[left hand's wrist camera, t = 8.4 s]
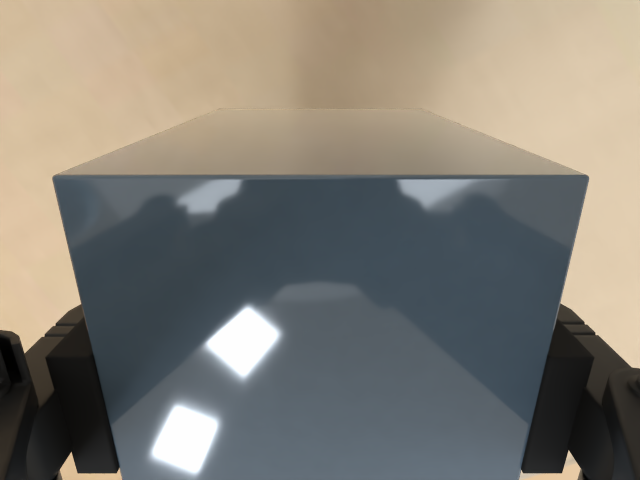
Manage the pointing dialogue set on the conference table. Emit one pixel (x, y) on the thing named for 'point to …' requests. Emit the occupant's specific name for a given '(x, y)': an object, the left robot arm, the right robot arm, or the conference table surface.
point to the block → (320, 294)
